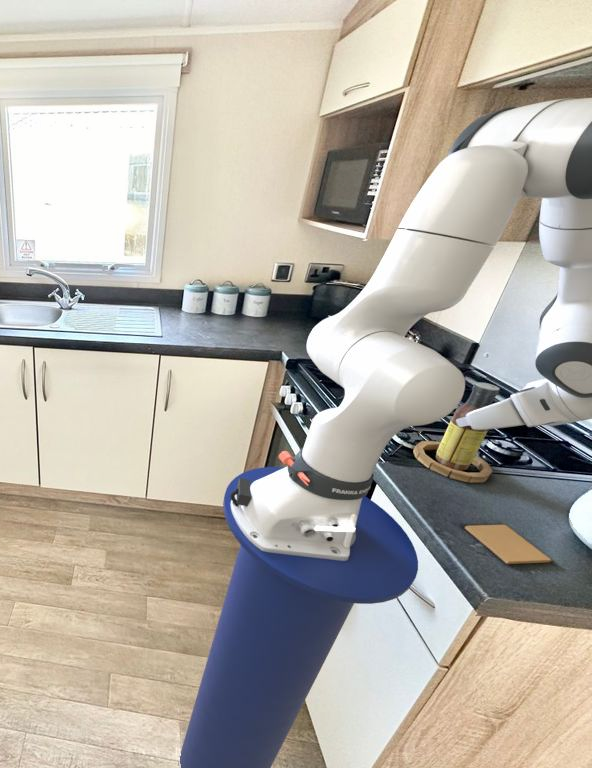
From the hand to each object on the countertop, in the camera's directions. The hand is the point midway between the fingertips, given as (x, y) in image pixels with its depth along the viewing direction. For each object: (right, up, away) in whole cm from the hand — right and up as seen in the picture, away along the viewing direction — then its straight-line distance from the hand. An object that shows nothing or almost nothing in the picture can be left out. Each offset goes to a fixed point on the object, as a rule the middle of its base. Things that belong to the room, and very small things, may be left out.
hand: (468, 419), depth 90 cm
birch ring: (0, -10, +5) cm, 11 cm away
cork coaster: (-9, -21, -17) cm, 28 cm away
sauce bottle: (0, -11, +5) cm, 12 cm away
